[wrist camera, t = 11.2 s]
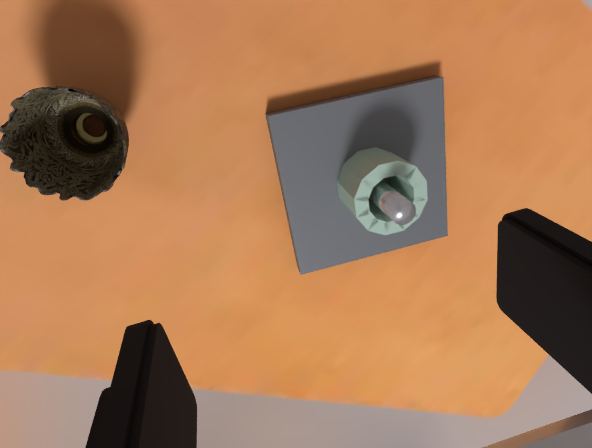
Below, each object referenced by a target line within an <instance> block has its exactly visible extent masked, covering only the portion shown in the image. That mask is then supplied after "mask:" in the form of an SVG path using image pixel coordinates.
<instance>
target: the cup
mask: <svg viewBox="0 0 592 448" xmlns="http://www.w3.org/2000/svg"><path fill="white" fill-rule="evenodd" d="M11 106H13V108H14V110H13V111H12V112H11V113H10V114H9V120H8V121H7V122H6V123H5V124H4V125H2V126H1V127H0V132H1V133H3V134H4V135H3V137H2V139H1V141H0V150H1V152H3V153H4V154H5V155H7V156H9V157H10V158H11V159H12V160H13V162H12V163H11V166H10V169H11V170H12V171H15V172H25V173H24V178H25V181H26V184H27V185H28V186H29V187H36V188H38V190H39V192H40V193H41V194H42V195H53V194H56V193H58V194H59V193H60V197H59V198H60V200H68V199H70V198H71V197H77V198H79V199H80V200H90V199H92V198H94V197H95V196H97V195H98V194H100V193H101V192H103V191H104V192H106V191H108V190H109V189H110V188H111V187H112V186H113V183H114V181H115V180H116V179H117V177H118V176H119V175H120V173H121V171H122V169H124V167H125V162H126V157H127V152H128V146H129V137H128V130H127V127H126V124H125V121H124V119H123V117H122V116H121V114H120V113H119V111H118V110H117V109H116V108H115V107H114V106H113V105H112V104H111V103H110V102H109V101H107V100H106V99H104V98H103V97H101V96H99V95H97V94H95V93H92V92H90V91H86V90H82V89H76V88H68V87H41V88H36V89H32V90H30V91H28V92H26V93H25V94H24V95H23V96H22V97H20V98H16V99H15V100H14V101H13V102H12V103H11ZM90 116H96V117H98V118H100V119H101V120H102V121H103V122H104V124H105V131H104V133H103V134H102V135H100V136H92V135H90V134H88V133H87V132H86V131H85V129H84V121H85V119H86V118H88V117H90Z"/></svg>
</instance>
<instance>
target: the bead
mask: <svg viewBox="0 0 592 448" xmlns="http://www.w3.org/2000/svg"><path fill="white" fill-rule="evenodd" d="M387 177H390V185H389V186H391V187H392V188H393V189H395V190H396V191H397V192H399V193H400V194H401V195H403V196H404V197H405V198H407V199H408V200H409V201H411V202H412V203H413V204H414V205H415V207H416V214H415V217H414V218H413V220H412V221H411V222H409V223H408V224H405V225H398V224H396V223H395V222H394V221H393V220H392V219H390V218H389V217H388V216H387V215H386V214H385V213H384V212H383V211H382V210H381V209H380V208H379V207H378V206H376V205H375V204H374V203H373V202H372V201H370V202H369V200H368V199H369V196H370V194H371V192H372V189H373V187H374V186H375V185H376V184H378V183H379V182H380V181H381V180H382V179H383V178H387ZM337 186H338V193H339V198H340V199H341V201H342V202H343V203H344V204H345V205H346V206H347V207H348V209H349V210H350V211H351V212H352V213H353V214H354V215H355V217H356V218H357V219H358V220H359V221H360V222H361V223H362V224H363V226H364V227H365V228H366V229H367V230H368V231H371V232H374V233H378V234H382V235H389V234H392V233H396V232H400V231H404V230H405V229H406V228H407V227H409V226H410V225H411V224H412V223H413V222H415V221H416V220H417V219H418V218H419V217H420V215H421V213H422V211H423V208H424V206H425V204H426V202H427V200H428V197H427V181H426V179H425V178H424V176H423V175H422V174H421V172H420V171H419V170H418V168H417V167H416V166H415V165H413V164H411V163H409V162H408V161H406V160H404V159H402V158H400V157H399V156H397V155H395V154H393V153H392V152H389V151H386V150H383V149H380V148H377V147H374V148H369V149H365V150H361V151H357V152H356V153H355V154H354V155H353V156H352V157H351V158H350V159H348V160H347V161H346V162H345V163H344V164H343V166H342V169H341V172H340V174H339V177H338V179H337Z"/></svg>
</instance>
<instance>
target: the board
mask: <svg viewBox="0 0 592 448" xmlns="http://www.w3.org/2000/svg"><path fill="white" fill-rule="evenodd" d="M266 119H267V123H268V128H269V133H270V138H271V142H272V147H273V152H274V157H275V161H276V166H277V171H278V176H279V181H280V185H281V190H282V195H283V200H284V204H285V209H286V214H287V219H288V223H289V228H290V233H291V238H292V242H293V247H294V252H295V257H296V261H297V266H298V269H299V272H300V274H301V275H302V274H306V273H309V272H313V271H317V270H321V269H324V268H328V267H332V266H336V265H339V264H343V263H347V262H351V261H354V260H358V259H362V258H366V257H369V256H373V255H377V254H381V253H384V252H388V251H392V250H396V249H399V248H403V247H407V246H411V245H414V244H418V243H422V242H426V241H429V240H433V239H437V238H441V237H444V236H448V233H447V196H446V159H445V122H444V84H443V77H438V76H433V77H428V78H424V79H419V80H415V81H410V82H406V83H401V84H397V85H392V86H388V87H383V88H379V89H374V90H370V91H365V92H361V93H356V94H352V95H347V96H343V97H338V98H334V99H329V100H325V101H320V102H316V103H311V104H307V105H302V106H298V107H293V108H289V109H284V110H280V111H275V112H271V113H266ZM374 147H377V148H380V149H383V150H386V151H389V152H392V153H393V154H395V155H397V156H399V157H400V158H402V159H404V160H406V161H408V162H409V163H411V164H413V165H415V166H416V167H417V168H418V170H419V171H420V172H421V174H422V175H423V176H424V178H425V179H426V181H427V197H428V200H427V202H426V204H425V206H424V208H423V211H422V213H421V215H420V217H419V218H418V219H417V220H416V221H415V222H413V223H412V224H411V225H410V226H409V227H407V228H406V229H405V230H404V231H400V232H396V233H392V234H389V235H382V234H378V233H374V232H371V231H368V230H367V229H366V228H365V227H364V226H363V224H362V223H361V222H360V221H359V220H358V219H357V218H356V217H355V215H354V214H353V213H352V212H351V211H350V210H349V209H348V207H347V206H346V205H345V204H344V203H343V202H342V201H341V199H340V198H339V193H338V186H337V179H338V177H339V174H340V172H341V169H342V166H343V164H344V163H345V162H346V161H347V160H348V159H350V158H351V157H352V156H353V155H354V154H355V153H356V152H357V151H361V150H365V149H369V148H374ZM382 180H383V181H384V182H385V183H387V184H388V185H390V177H387V178H383V179H382ZM368 200H369V202H370V201H371V200H370V199H368Z"/></svg>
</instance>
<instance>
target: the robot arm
mask: <svg viewBox="0 0 592 448" xmlns="http://www.w3.org/2000/svg"><path fill="white" fill-rule="evenodd" d="M497 303H498V305H499V307H500V309H501V310H502V311H503V312H504V313H505V314H506V315H507V316H508V317H509V318H510V319H511V320H512V321H513V322H514V323H515V324H517V325H518V326H519V327H520V328H521V329H522V330H523V331H524V332H525V333H526V334H527V335H529V336H530V337H531V338H532V339H533V340H534V341H535V342H536V343H537V344H538V345H539V346H540V347H542V348H543V349H544V350H545V351H546V352H547V353H548V354H549V355H550V356H551V357H552V358H553V359H555V360H556V361H557V362H558V363H559V364H560V365H561V366H562V367H563V368H565V370H567V371H568V372H569V373H570V374H571V375H572V376H573V377H574V378H575V379H576V380H577V381H579V382H580V383H581V384H582V385H583V386H584V387H585V388H586V389H587V390H588V391H589V392H590V393H592V242H591V241H589V240H587V239H585V238H583V237H581V236H579V235H578V234H576V233H574V232H572V231H570V230H568V229H566V228H564V227H562V226H561V225H559V224H557V223H555V222H553V221H551V220H549V219H547V218H546V217H544V216H542V215H540V214H538V213H536V212H534V211H532V210H531V209H528V208H525V209H521V210H518V211H514V212H511V213H507V214H505V215H504V216H503V218H502V221H500V222H499V224H498V250H497ZM196 436H197V404H196V400H195V396H194V394H193V391H192V389H191V387H190V385H189V383H188V381H187V378H186V376H185V374H184V372H183V370H182V368H181V365H180V363H179V361H178V359H177V357H176V355H175V352H174V350H173V348H172V346H171V344H170V342H169V339H168V337H167V335H166V333H165V331H164V329H163V327H162V325H161V324H160V323H157V324H154V323H153V322H152V321H151V320H147V321H144V322H140V323H137V324H134V325H130V326H128V327H126V330H125V333H124V337H123V341H122V345H121V349H120V352H119V356H118V360H117V364H116V368H115V372H114V376H113V379H112V383H111V387H109V388H106V389H104V390H103V391H102V393H101V396H100V398H99V402H98V405H97V409H96V412H95V416H94V419H93V423H92V426H91V430H90V434H89V437H88V441H87V445H86V448H196V444H197V439H196V438H197V437H196ZM483 448H592V410H589V411H586V412H583V413H580V414H577V415H574V416H572V417H569V418H566V419H563V420H560V421H557V422H555V423H551V424H549V425H546V426H543V427H540V428H537V429H534V430H531V431H528V432H526V433H523V434H520V435H518V436H514V437H511V438H509V439H506V440H503V441H500V442H497V443H494V444H492V445H489V446H486V447H483Z"/></svg>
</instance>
